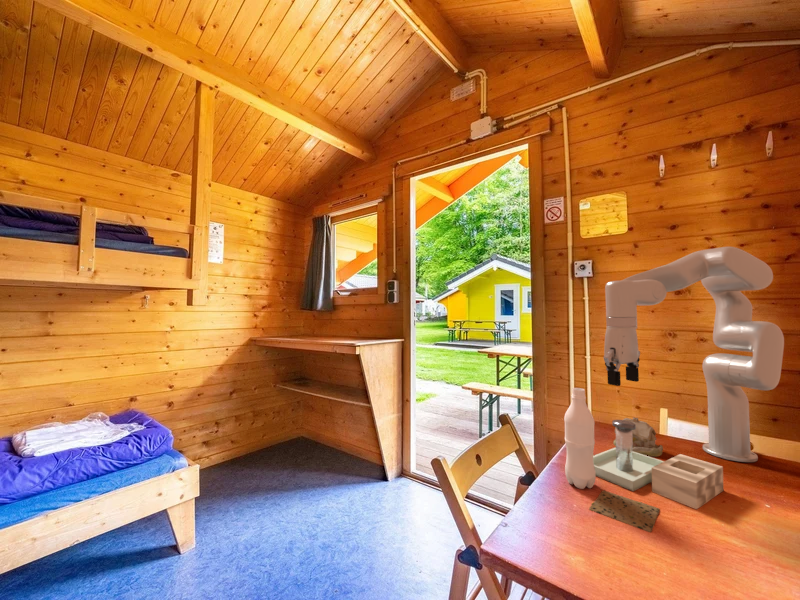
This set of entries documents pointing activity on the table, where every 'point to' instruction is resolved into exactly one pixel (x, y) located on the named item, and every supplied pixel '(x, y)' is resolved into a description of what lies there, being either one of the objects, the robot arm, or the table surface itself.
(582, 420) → the water bottle
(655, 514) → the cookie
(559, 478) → the table surface
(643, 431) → the ceramic model
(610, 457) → the tray
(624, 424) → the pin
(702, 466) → the block
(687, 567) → the table surface
